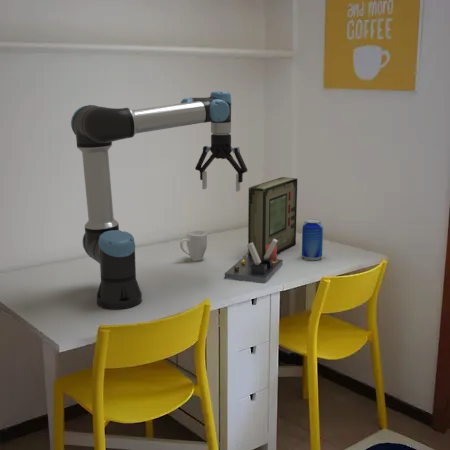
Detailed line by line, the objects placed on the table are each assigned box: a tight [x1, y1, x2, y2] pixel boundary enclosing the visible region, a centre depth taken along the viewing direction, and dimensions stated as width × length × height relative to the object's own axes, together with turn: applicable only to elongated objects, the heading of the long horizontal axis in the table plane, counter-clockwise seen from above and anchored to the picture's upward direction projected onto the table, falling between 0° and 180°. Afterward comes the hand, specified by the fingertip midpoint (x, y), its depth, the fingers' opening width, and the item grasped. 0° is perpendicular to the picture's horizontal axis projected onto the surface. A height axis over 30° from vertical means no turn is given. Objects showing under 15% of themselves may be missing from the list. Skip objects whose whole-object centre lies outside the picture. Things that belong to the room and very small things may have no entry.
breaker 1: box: [247, 242, 261, 266], centre depth 235 cm, size 3×2×8 cm, turn 160°
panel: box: [224, 255, 284, 284], centre depth 244 cm, size 24×16×5 cm, turn 160°
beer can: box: [301, 218, 324, 261], centre depth 260 cm, size 8×8×16 cm
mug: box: [179, 230, 208, 262], centre depth 257 cm, size 12×8×11 cm
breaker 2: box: [264, 239, 278, 260], centre depth 241 cm, size 3×2×8 cm, turn 160°
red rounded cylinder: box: [266, 244, 278, 262], centre depth 250 cm, size 4×4×6 cm
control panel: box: [247, 176, 298, 258], centre depth 268 cm, size 30×8×30 cm, turn 148°
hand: (221, 189), depth 239 cm, fingers open, 13 cm apart
